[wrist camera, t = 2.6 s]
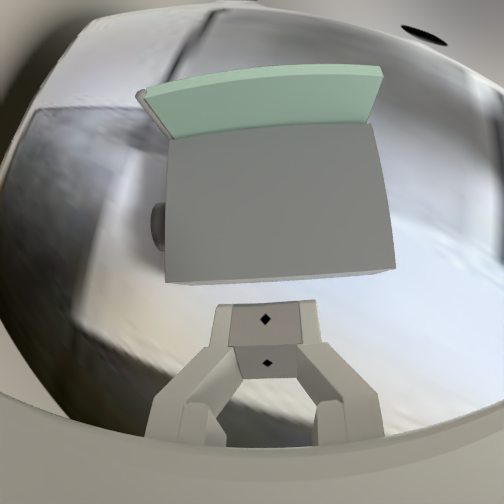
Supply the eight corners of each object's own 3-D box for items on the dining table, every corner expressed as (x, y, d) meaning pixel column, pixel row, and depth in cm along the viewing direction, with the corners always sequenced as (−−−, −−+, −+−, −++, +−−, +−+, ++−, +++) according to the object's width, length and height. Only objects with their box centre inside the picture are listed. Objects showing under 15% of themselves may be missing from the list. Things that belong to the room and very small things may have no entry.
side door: (350, 135, 33) (375, 56, 19) (354, 152, 32) (383, 76, 18) (186, 148, 35) (138, 80, 21) (186, 165, 34) (134, 101, 21)
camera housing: (357, 154, 32) (371, 123, 25) (373, 274, 30) (396, 268, 23) (174, 169, 35) (151, 144, 28) (173, 285, 33) (145, 283, 26)
